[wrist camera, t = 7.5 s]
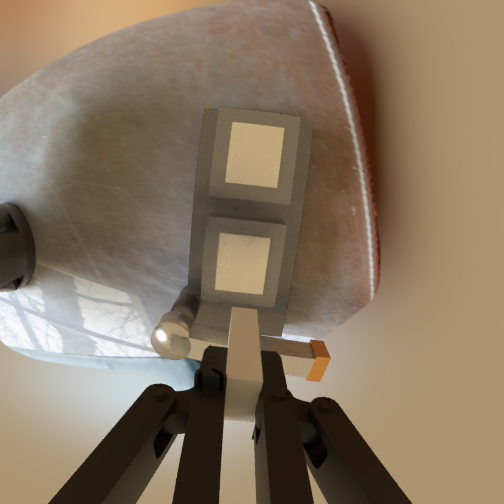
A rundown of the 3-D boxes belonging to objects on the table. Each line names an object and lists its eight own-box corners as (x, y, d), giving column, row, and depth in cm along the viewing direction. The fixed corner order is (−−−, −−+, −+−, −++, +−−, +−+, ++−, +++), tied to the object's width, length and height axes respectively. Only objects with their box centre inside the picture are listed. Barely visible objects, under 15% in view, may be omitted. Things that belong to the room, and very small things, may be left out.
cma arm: (158, 338, 28) (149, 354, 25) (160, 306, 27) (151, 321, 24) (312, 366, 29) (318, 384, 26) (324, 338, 28) (332, 354, 25)
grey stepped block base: (180, 314, 36) (165, 346, 28) (196, 114, 30) (180, 95, 22) (278, 324, 37) (285, 359, 29) (308, 126, 30) (325, 111, 22)
